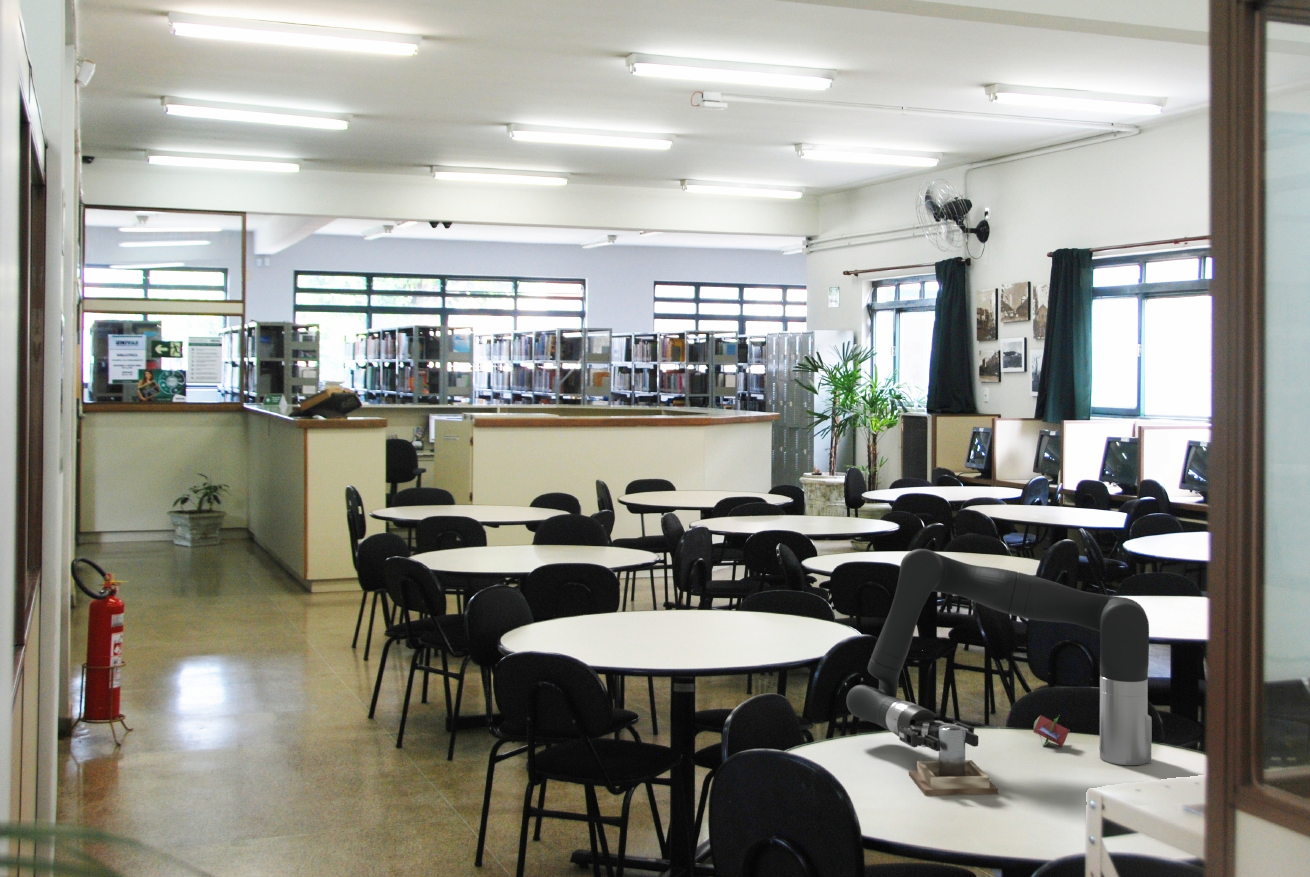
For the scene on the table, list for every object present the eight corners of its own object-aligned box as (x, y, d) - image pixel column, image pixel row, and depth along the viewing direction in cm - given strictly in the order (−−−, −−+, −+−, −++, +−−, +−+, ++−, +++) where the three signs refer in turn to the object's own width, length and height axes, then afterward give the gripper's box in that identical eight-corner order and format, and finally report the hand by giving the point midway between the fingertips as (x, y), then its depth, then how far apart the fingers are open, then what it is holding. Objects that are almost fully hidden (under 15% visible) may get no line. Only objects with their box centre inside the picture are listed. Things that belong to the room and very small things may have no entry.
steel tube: (960, 774, 232) (961, 724, 232) (968, 782, 227) (968, 731, 227) (935, 775, 232) (935, 724, 231) (942, 783, 227) (942, 731, 226)
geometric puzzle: (1079, 735, 255) (1057, 703, 258) (1072, 742, 250) (1049, 710, 252) (1052, 750, 258) (1031, 719, 261) (1045, 758, 253) (1022, 726, 255)
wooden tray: (978, 774, 235) (978, 759, 235) (998, 793, 223) (998, 778, 223) (908, 775, 235) (908, 760, 235) (924, 795, 223) (924, 779, 223)
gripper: (881, 707, 240) (926, 727, 225) (941, 701, 245) (989, 720, 230) (881, 744, 240) (926, 767, 225) (941, 737, 245) (989, 758, 230)
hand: (958, 743), depth 227 cm, fingers open, 8 cm apart
